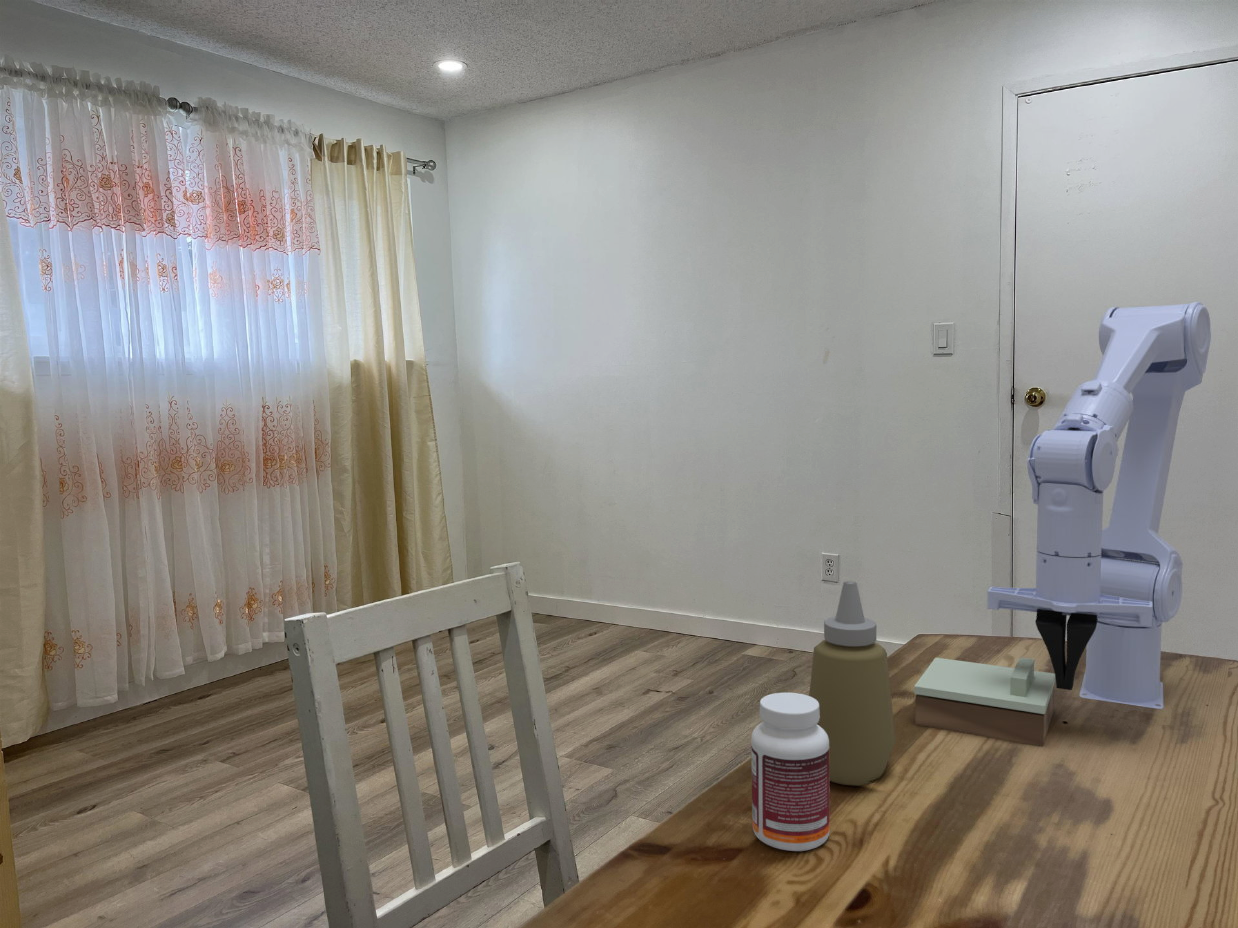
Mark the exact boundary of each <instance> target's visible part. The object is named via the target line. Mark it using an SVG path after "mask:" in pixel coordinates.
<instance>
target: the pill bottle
mask: <svg viewBox="0 0 1238 928" xmlns="http://www.w3.org/2000/svg"><path fill="white" fill-rule="evenodd" d="M759 717H760V718H759V719H760V721H761V722H760V723H759V724H758V725H756V727H755V728H754V729H753V731H752V733H751V737H750V740H751V741H750V743H751V744H750V747H751V749H750V750H751V751H750V752H751V753H750V754H751V762H750V763H751V813H752V815H751V818H752V819H751V820H752V823H751V824H752V830H753V833H754V835H755V836H756V838H758V840H759V841H761V842H762V843H764V845H765V844H766V845H767V846H770V847H771V848H775V849H779V850H782V851H791V852H803V851H804V852H805V851H809V850H810V851H811V850H812V849H815V848H818V847H820V846H821V845H823V844H824V843H826V841H827V840H828V837H829V836H830V832H831V831H830V828H831V822H830V821H831V820H830V819H831V817H830V816H831V815H830V814H831V812H830V809H831V808H830V805H831V804H830V802H831V800H830V799H831V798H830V797H831V796H830V795H831V794H830V792H831V791H830V790H831V789H830V780H829V738H828V735H827V733H826V732H825V731H824V730H823V729H822V728H821V727H820V726H819V725H817V723H818V722H819V719H820V711H819V703H818V701H817V700H816V699H814V698H812V697H810V696H809V695H807V694H803V693H799V692H798V693H796V692H775V693H770V694H767V695H765V696H763V697H762V698H761V699H760V701H759Z"/></svg>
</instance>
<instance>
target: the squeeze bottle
mask: <svg viewBox="0 0 1238 928" xmlns="http://www.w3.org/2000/svg"><path fill="white" fill-rule="evenodd" d="M842 583H843V584H842V588H841V592H840V597H839V600H838V601H839V602H838V605H837V610H836V614H835V616H831V617H828V618H826V619H825V620H824V621H823V640H822V641H820V642H819V643H818V644H817V645H815V646H814V647H813V654H812V662H811V663H812V665H811V675H810V683H809V693H808V696H810V697H812V698H814V699H816V700H817V701H818V703H819V711H820V719H819V722H818V723H817V725H819V726H820V727H821V728H822V729H823V730H824V731H825V732H826V733H827V735H828V738H829V782H832V783H834V784H835V783H836V784H839V785H844V786H867V785H872V784H874V782H873V781H874V780H877V779H879V778H881V777H882V775H883V774H884V773H885V770H886V767H887V764H888V761H889V759H890V757H891V754H892V751H893V749H894V745H895V743H896V734H895V724H894V723H895V722H894V714H893V713H894V711H893V702H892V692H891V681H890V673H889V661H888V653H887V651H886V649H885V648H884V647H883V646H882V645H881V644H879V643H877V642H876V641H877V623H876V622H875V621H874V620H872V619H871V618H867V617H865V614H864V610H863V605H862V602H861V598H860V592H859V587H858V584H857V582H855V581H844V582H842Z"/></svg>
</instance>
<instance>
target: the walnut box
mask: <svg viewBox="0 0 1238 928" xmlns="http://www.w3.org/2000/svg"><path fill="white" fill-rule="evenodd" d="M1054 700H1055V686H1054V687H1053V690H1052V693H1051V696H1050V699H1049V703H1048V706H1047V709H1046V712H1045V714H1040V713H1034V712H1028V711H1021V710H1015V709H1008V708H1002V707H996V706H989V705H983V704H976V703H970V702H964V701H957V700H951V699H944V698H938V697H932V696H925V695H919V694H915V707H914V708H915V709H914V710H915V711H914V712H915V714H914V715H915V716H914V717H915V718H914V719H915V722H914V723H915V724H914V725H915V726H922V727H924V728H925V727H926V728H931V729H938V730H943V731H948V732H949V731H950V732H955V733H959V734H960V733H961V734H966V735H973V736H978V737H979V736H980V737H984V738H988V739H989V738H990V739H996V740H1002V741H1007V742H1013V743H1018V744H1019V743H1020V744H1025V745H1031V746H1035V747H1044V745H1045V742H1046V738H1047V734H1048V731H1049V729H1050V726H1051V725H1050V724H1051V721H1052V719H1053V716H1054V715H1053V714H1054V702H1055V701H1054Z"/></svg>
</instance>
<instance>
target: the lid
mask: <svg viewBox="0 0 1238 928" xmlns="http://www.w3.org/2000/svg"><path fill="white" fill-rule="evenodd" d="M1055 685H1056V678H1055V673H1053V672H1046V671H1037V670H1035V658H1028V657H1019V658H1018V661H1017V663H1016V665H1015V667H1007V666H1002V665H994V664H987V663H980V662H979V663H978V662H972V661H964V660H956V659H951V658H941V657H934V659H933V660H932V662H931V663H930V665H929V666H928V667H927V668H926V669H925V671H924V672H923V674H922V675H921V677H920V678H919V679H918V681H917V682H916V683H915V684H914V686H913V694H914V695H917V694H919V695H925V696H932V697H938V698H944V699H951V700H957V701H964V702H970V703H976V704H983V705H989V706H996V707H1002V708H1008V709H1015V710H1021V711H1028V712H1034V713H1040V714H1045V712H1046V709H1047V706H1048V703H1049V699H1050V696H1051V693H1052V690H1053V687H1054V688H1055Z"/></svg>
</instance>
